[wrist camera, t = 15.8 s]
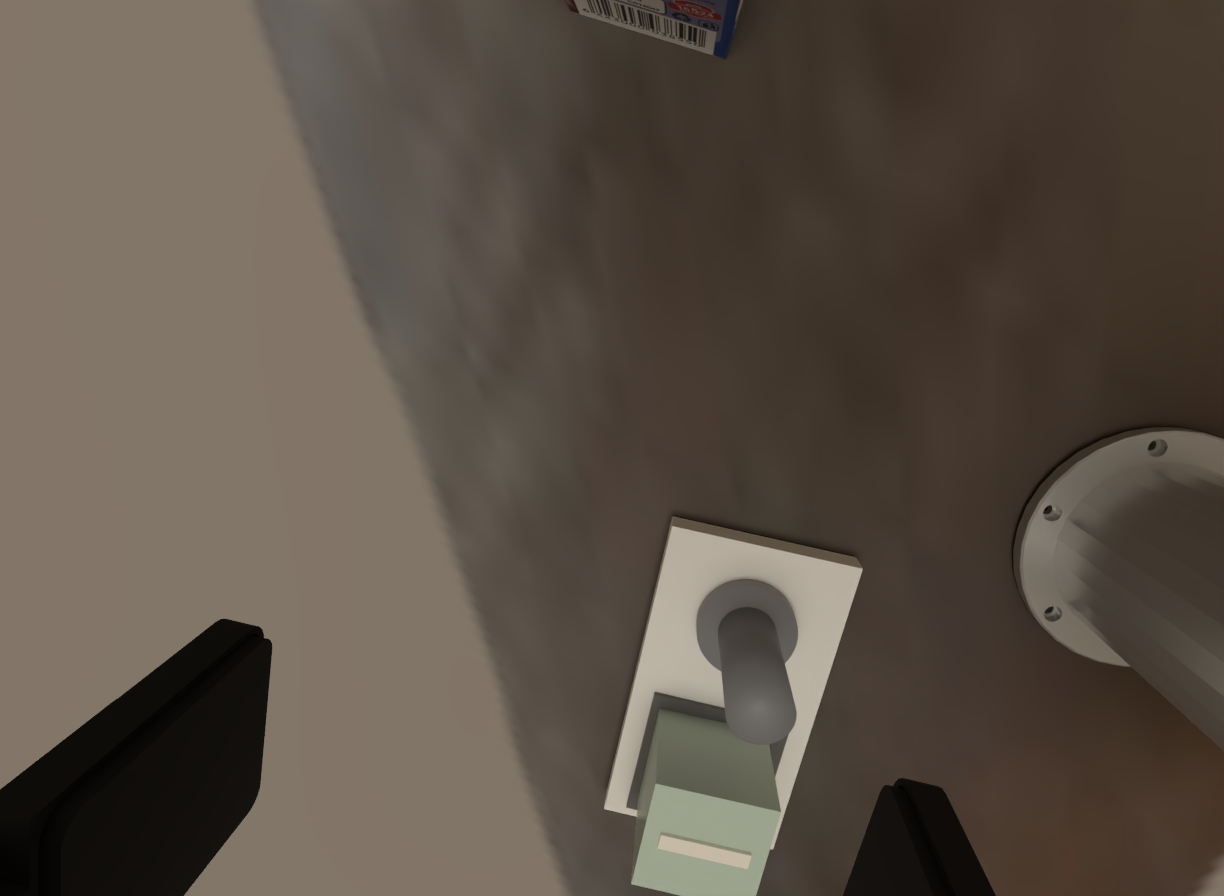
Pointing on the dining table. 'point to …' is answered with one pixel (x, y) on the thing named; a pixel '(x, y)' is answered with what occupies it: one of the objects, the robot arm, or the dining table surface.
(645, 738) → the post board
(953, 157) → the dining table surface
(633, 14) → the juice carton
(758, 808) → the green slotted box
